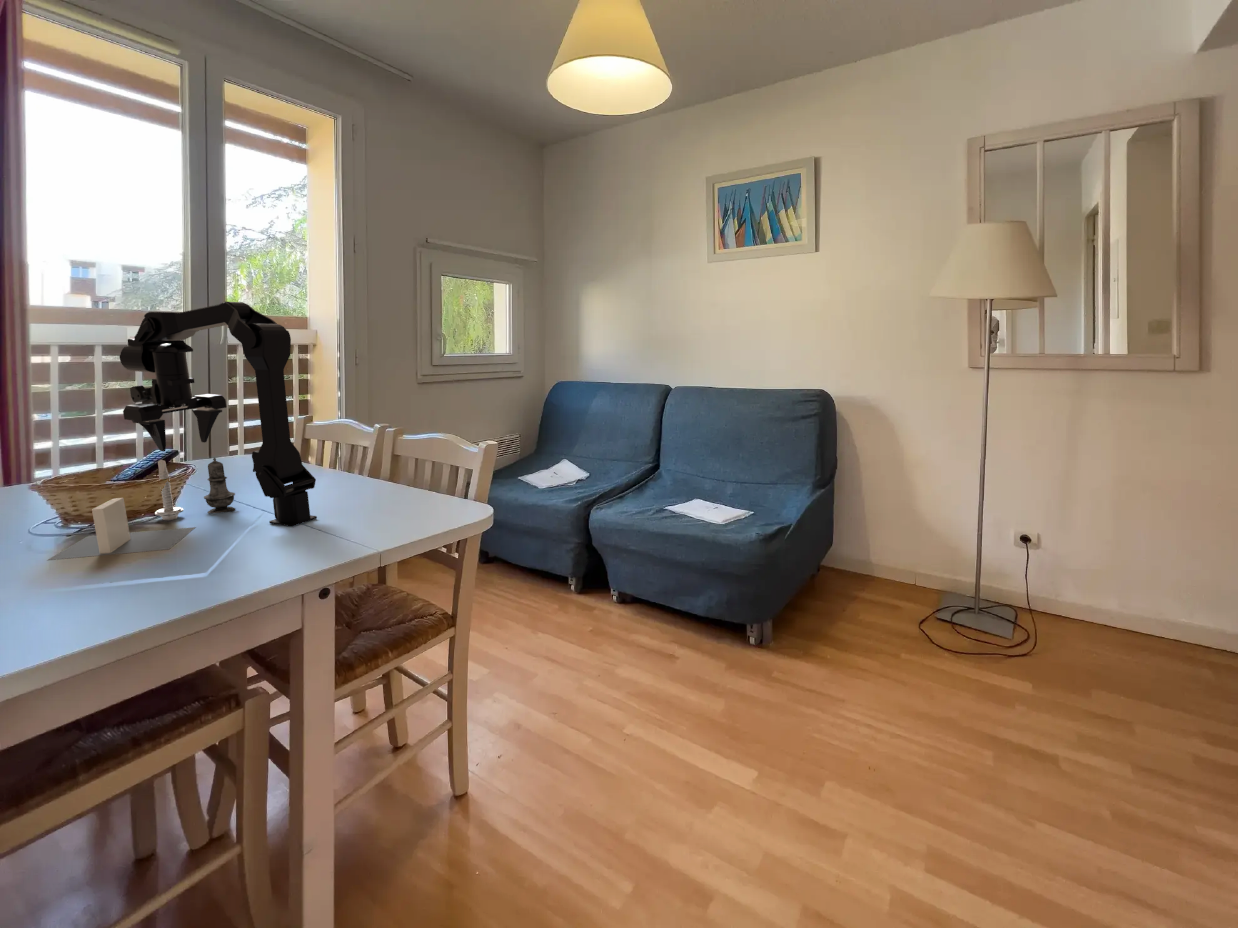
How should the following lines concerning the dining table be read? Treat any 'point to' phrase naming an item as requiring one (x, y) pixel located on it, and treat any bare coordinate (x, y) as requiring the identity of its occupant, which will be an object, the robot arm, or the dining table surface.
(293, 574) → the dining table surface
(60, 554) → the mat
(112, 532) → the tile
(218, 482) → the salt shaker
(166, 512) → the screw
